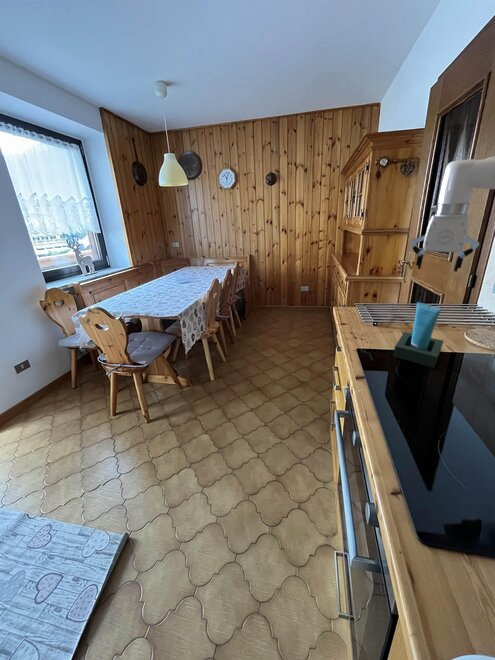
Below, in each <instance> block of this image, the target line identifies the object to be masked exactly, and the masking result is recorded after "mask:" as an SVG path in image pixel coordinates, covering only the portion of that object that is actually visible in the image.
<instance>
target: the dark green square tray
mask: <svg viewBox="0 0 495 660" xmlns="http://www.w3.org/2000/svg"><path fill="white" fill-rule="evenodd" d="M412 334H413V332H412V333H411V332H408V331H404V332H403V333H402V335H401V336H400V337H399V339H398V341H397V343H396V344H395V346H394V351H393V356H392V357H394V358H396V359H400V360H404V361H408V362H410V363H415V364H419V365H422V366H426V367H430V368H432V369H435V367H436V365H437V362H438V360H439V356H440V354H441V350H442V348H443V343H444V340H442V339H438V338H433V337H431V338H430V341H429V345H428V348H427V351H425V350H421V349H417V348H413V347H410V345H411V339H412Z"/></svg>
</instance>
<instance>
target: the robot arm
mask: <svg viewBox="0 0 495 660" xmlns="http://www.w3.org/2000/svg"><path fill="white" fill-rule="evenodd" d="M441 183H442V184H441V187H440V191H439V196H438V199H437V200H438V201H437V204H436V205H431V206H430V212H434V213H435V214H433V215H431V217H430V220H429V221H428V225H427V228H426V231H425V234H423V235H421V236H419V237H416V238H413V239H412V240H410V245H411V248H412V251H413V252H414V253H415V254H416V256H417V258H416V263H415V266H417V269H418V270H420V269H421V266H422V264H423V263H422V262H423V259H424V254H425V253H426V252H438V253H440V252H441V253H457V256H456V260H455V263H454V267H453V272H456V273H457V272H458V269H461V268H462V266H463V265H462V264H463V262H464V259H465V258H467V257H468V256H470V255H471V254H472V253H474V251H475V250H476V249H477V248H478V247H479V246H480V242H479V241H477V240H475V239H473V238H472V237H470V236H468V231H469V226H470V215H469V214H468V210H469V207H470V204H471V200H472V197H473V192H474V189H484V190H486V189H487V190H495V155H493V156H489V157H485V158H483V159H473V158H472V159H458V160H453V161H450V162H449V163H447V164H446V167H445V170H444V174H443V177H442V182H441ZM420 242H423V243H422V247H421V248H420V247H418V245H417V244H418V243H420ZM466 243H467V244H470V245H471V246H469V248H467V249H466V250H463V249H464V247H465V244H466Z"/></svg>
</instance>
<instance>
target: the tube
mask: <svg viewBox="0 0 495 660" xmlns="http://www.w3.org/2000/svg"><path fill="white" fill-rule="evenodd" d="M441 311H442V308H441V307H438V306H433V305H430V304H427V303H423V302H419V301H417V302H416V310H415V317H414V323H413V329H412V339H411V345H410V346H409V347H413V348H417V349H421V350H425V351H427V348H428V345H429V341H430V338H432V335H433V332H434V329H435V326H436V323H437V320H438V318H439V315H440V314H441Z"/></svg>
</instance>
